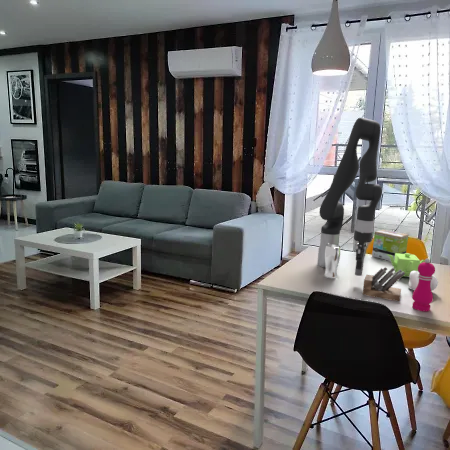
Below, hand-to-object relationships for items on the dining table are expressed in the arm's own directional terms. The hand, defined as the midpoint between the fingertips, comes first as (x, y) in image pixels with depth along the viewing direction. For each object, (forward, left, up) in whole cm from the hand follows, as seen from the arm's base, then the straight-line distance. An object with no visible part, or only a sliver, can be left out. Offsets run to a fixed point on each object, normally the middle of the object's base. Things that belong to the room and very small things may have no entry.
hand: (359, 267), depth 184 cm
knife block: (+11, -7, -8) cm, 15 cm away
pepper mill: (+26, -15, -8) cm, 31 cm away
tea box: (+9, +56, -8) cm, 57 cm away
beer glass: (-13, +6, -8) cm, 17 cm away
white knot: (+25, +7, -8) cm, 27 cm away
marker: (0, 0, -3) cm, 3 cm away
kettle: (+18, +26, -8) cm, 33 cm away
